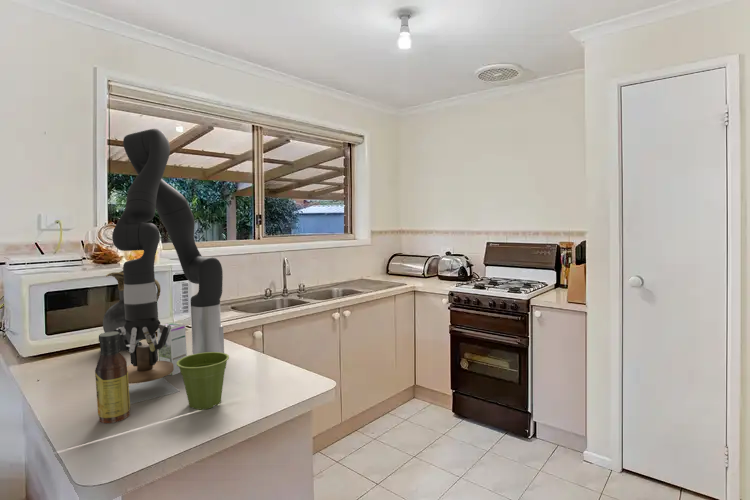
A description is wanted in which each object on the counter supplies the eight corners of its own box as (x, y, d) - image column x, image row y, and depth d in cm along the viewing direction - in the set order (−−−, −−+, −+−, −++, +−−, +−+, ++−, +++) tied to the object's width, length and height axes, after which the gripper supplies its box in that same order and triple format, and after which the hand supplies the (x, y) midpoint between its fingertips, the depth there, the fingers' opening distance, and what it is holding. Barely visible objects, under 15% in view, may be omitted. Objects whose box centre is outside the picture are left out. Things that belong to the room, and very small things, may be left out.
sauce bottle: (107, 413, 101) (103, 329, 100) (135, 412, 102) (131, 328, 100) (91, 426, 95) (86, 337, 93) (121, 425, 95) (117, 336, 94)
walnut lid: (164, 361, 123) (162, 336, 123) (181, 373, 113) (179, 346, 113) (109, 374, 114) (108, 347, 113) (123, 387, 104) (121, 358, 104)
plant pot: (173, 403, 107) (171, 358, 106) (221, 391, 114) (220, 349, 113) (185, 419, 97) (183, 370, 97) (237, 405, 105) (236, 360, 104)
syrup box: (188, 370, 131) (186, 323, 130) (171, 376, 125) (169, 327, 125) (174, 368, 133) (173, 321, 132) (158, 374, 128) (156, 325, 127)
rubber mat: (163, 379, 124) (163, 377, 124) (179, 392, 113) (179, 391, 113) (106, 392, 114) (106, 390, 114) (119, 408, 104) (119, 406, 104)
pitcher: (101, 348, 156) (97, 265, 154) (158, 338, 169) (155, 261, 167) (107, 355, 148) (103, 267, 146) (167, 344, 161) (163, 263, 159)
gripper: (104, 304, 108) (109, 372, 109) (164, 301, 110) (168, 367, 111) (117, 298, 115) (122, 362, 116) (174, 296, 117) (177, 358, 118)
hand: (144, 364), depth 113 cm, fingers closed on walnut lid, 3 cm apart
